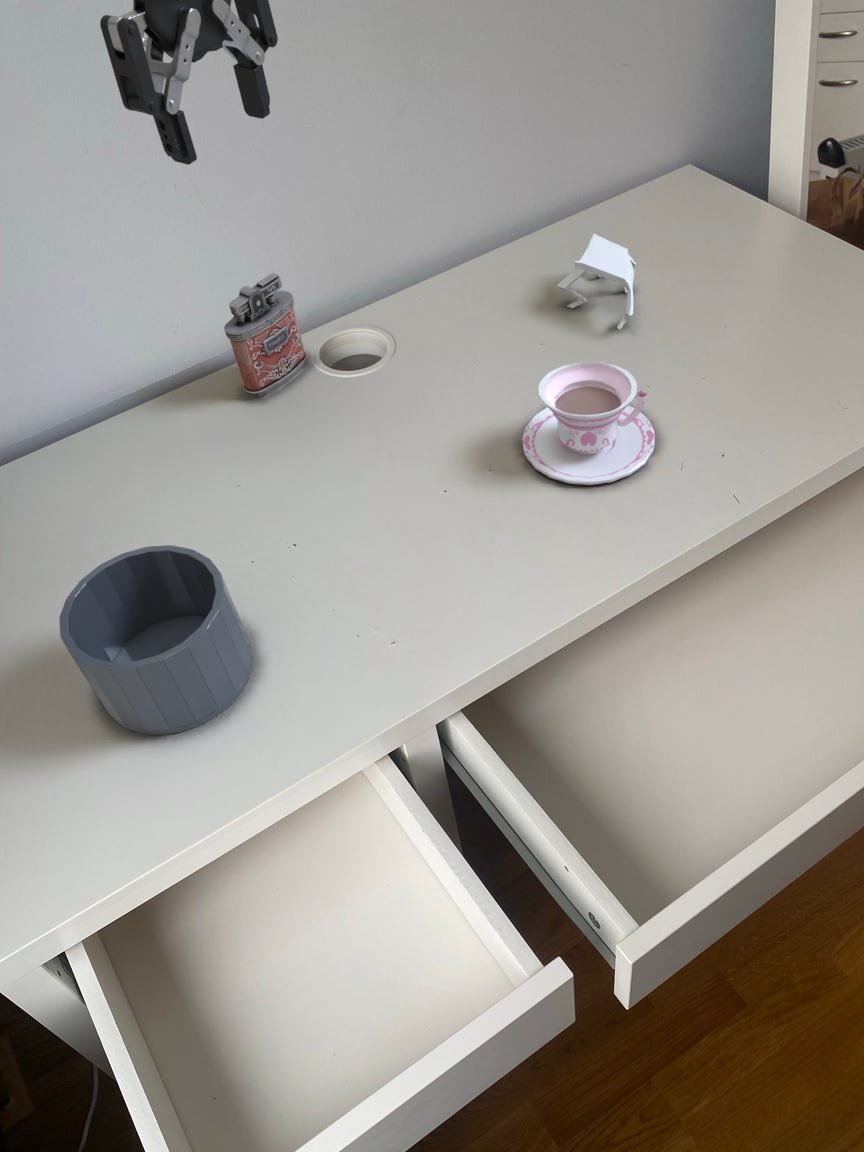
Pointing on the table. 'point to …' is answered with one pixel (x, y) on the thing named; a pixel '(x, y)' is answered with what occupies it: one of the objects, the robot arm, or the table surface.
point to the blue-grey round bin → (158, 639)
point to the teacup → (589, 425)
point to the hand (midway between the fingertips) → (222, 137)
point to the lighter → (265, 337)
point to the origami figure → (604, 270)
